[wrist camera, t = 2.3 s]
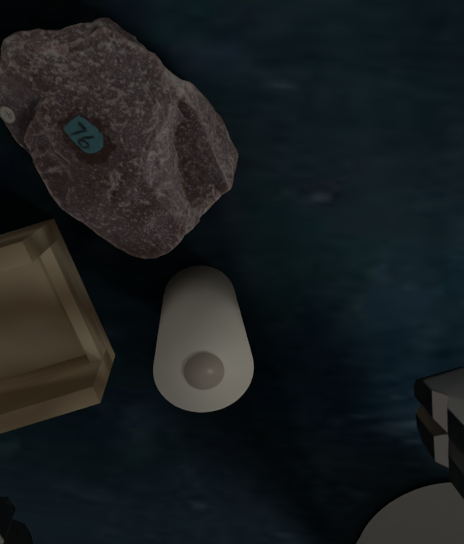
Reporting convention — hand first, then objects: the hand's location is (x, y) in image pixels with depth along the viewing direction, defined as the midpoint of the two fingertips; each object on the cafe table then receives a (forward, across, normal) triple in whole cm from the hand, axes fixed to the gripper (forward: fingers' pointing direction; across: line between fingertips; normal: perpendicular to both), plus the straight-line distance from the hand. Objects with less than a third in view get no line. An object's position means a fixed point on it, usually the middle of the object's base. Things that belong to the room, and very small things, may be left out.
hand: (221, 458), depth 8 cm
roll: (+21, -1, -6) cm, 22 cm away
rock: (+22, -2, +5) cm, 22 cm away
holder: (+21, -13, -4) cm, 25 cm away
